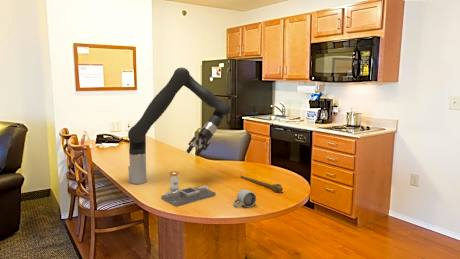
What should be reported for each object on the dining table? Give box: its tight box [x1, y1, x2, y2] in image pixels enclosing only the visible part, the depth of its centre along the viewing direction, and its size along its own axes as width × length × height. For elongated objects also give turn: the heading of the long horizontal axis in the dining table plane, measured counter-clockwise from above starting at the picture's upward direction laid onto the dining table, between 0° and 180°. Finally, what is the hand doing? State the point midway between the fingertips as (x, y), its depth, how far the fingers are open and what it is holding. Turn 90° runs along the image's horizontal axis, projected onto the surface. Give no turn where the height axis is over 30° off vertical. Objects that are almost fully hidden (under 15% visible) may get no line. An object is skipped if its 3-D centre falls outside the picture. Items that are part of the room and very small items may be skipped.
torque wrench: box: [240, 175, 283, 193], centre depth 194 cm, size 5×35×5 cm
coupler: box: [169, 170, 180, 192], centre depth 183 cm, size 5×5×10 cm
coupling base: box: [161, 184, 216, 207], centre depth 173 cm, size 24×14×4 cm, turn 131°
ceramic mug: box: [232, 189, 257, 208], centre depth 162 cm, size 10×8×7 cm
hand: (191, 153), depth 188 cm, fingers open, 8 cm apart
